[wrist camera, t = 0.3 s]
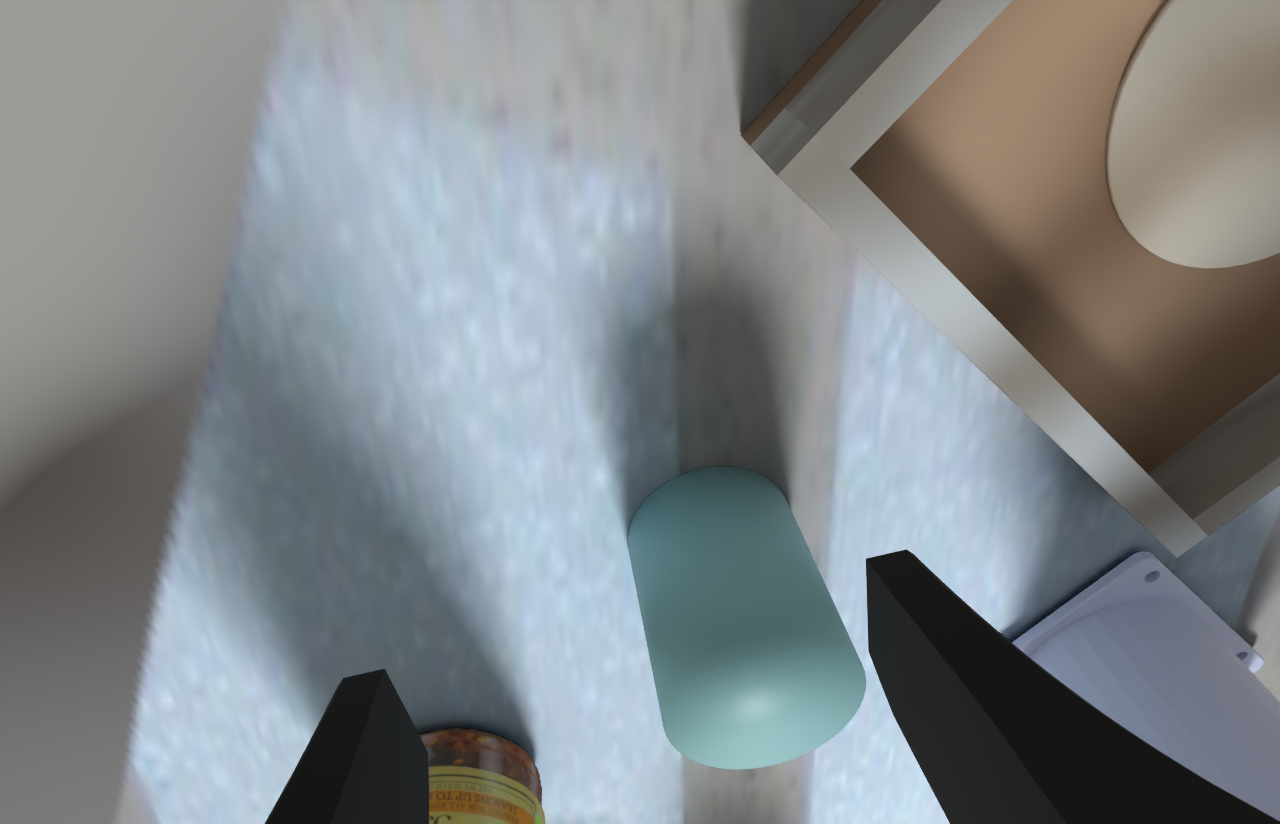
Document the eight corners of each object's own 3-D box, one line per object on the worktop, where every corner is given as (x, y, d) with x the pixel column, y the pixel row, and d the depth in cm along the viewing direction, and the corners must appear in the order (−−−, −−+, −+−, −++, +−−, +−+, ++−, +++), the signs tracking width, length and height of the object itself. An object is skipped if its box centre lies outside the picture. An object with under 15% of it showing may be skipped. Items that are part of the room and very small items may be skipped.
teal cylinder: (823, 517, 25) (906, 682, 20) (710, 615, 26) (760, 790, 21) (709, 437, 23) (770, 600, 18) (593, 549, 24) (619, 728, 19)
